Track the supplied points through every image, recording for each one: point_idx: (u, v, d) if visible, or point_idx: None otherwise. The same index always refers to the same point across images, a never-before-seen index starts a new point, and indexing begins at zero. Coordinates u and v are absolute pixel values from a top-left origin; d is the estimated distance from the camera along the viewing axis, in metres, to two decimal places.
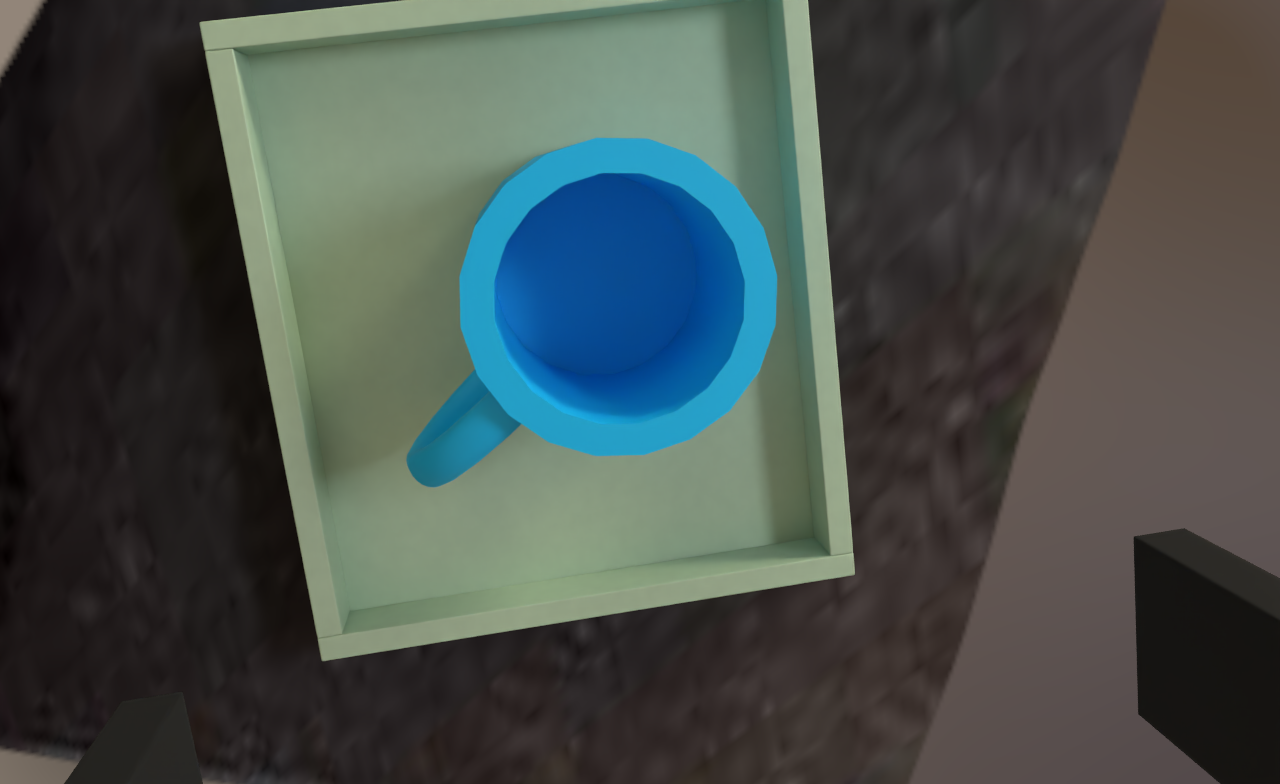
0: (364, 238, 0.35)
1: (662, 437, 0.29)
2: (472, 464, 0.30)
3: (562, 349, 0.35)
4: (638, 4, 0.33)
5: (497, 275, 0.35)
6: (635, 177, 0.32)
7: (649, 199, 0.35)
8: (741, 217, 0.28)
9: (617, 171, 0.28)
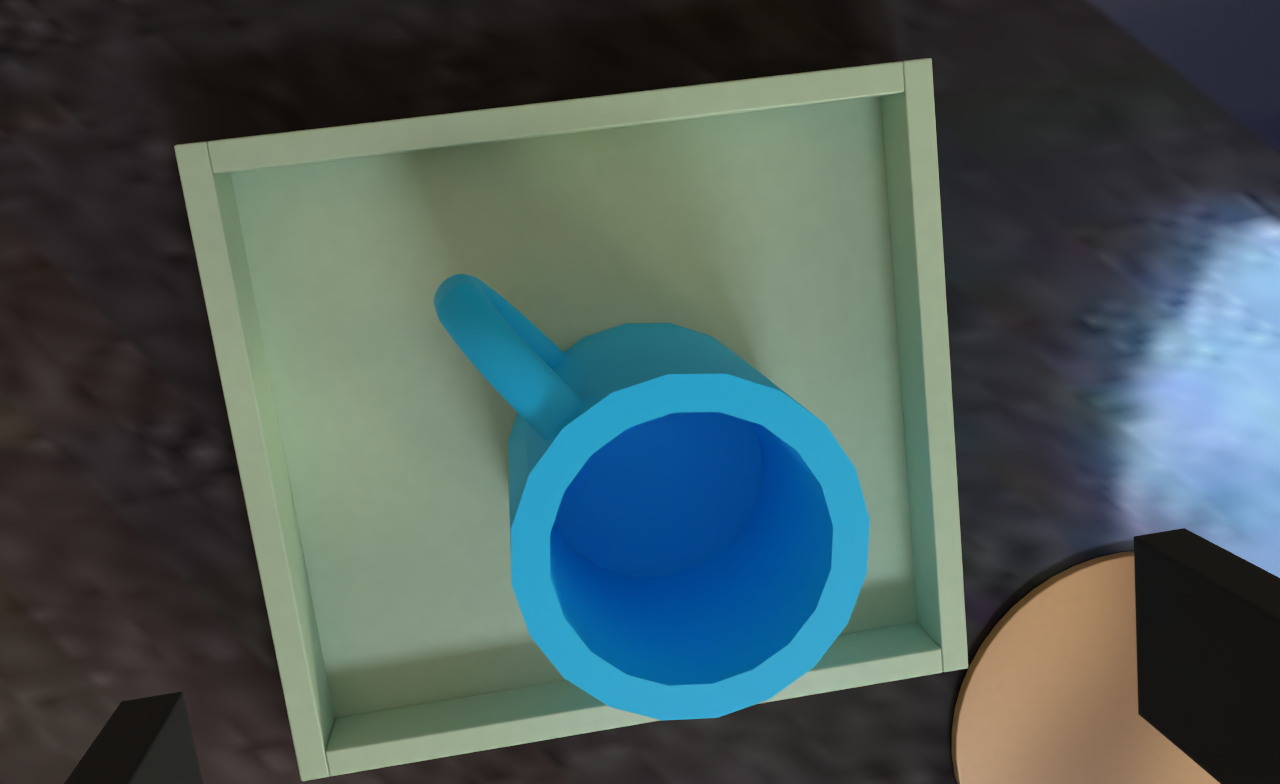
0: (687, 211, 0.32)
1: (532, 604, 0.25)
2: (484, 373, 0.25)
3: None
4: (931, 508, 0.32)
5: None
6: (784, 529, 0.29)
7: (733, 524, 0.32)
8: (781, 675, 0.26)
9: (834, 543, 0.25)
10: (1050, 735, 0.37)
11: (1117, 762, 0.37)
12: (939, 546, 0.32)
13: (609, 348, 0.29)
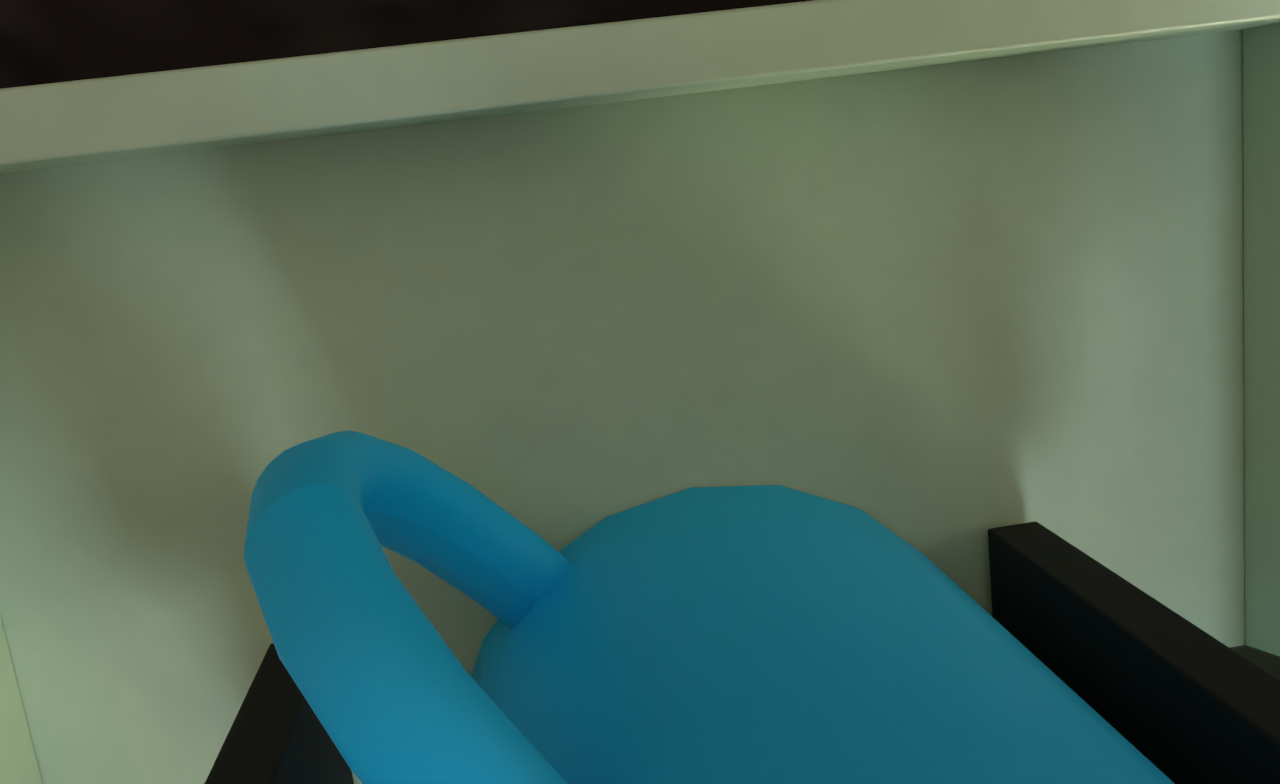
0: (852, 260, 0.16)
1: None
2: (347, 758, 0.09)
3: None
4: None
5: None
6: None
7: None
8: None
9: None
10: None
11: None
12: None
13: (668, 581, 0.13)
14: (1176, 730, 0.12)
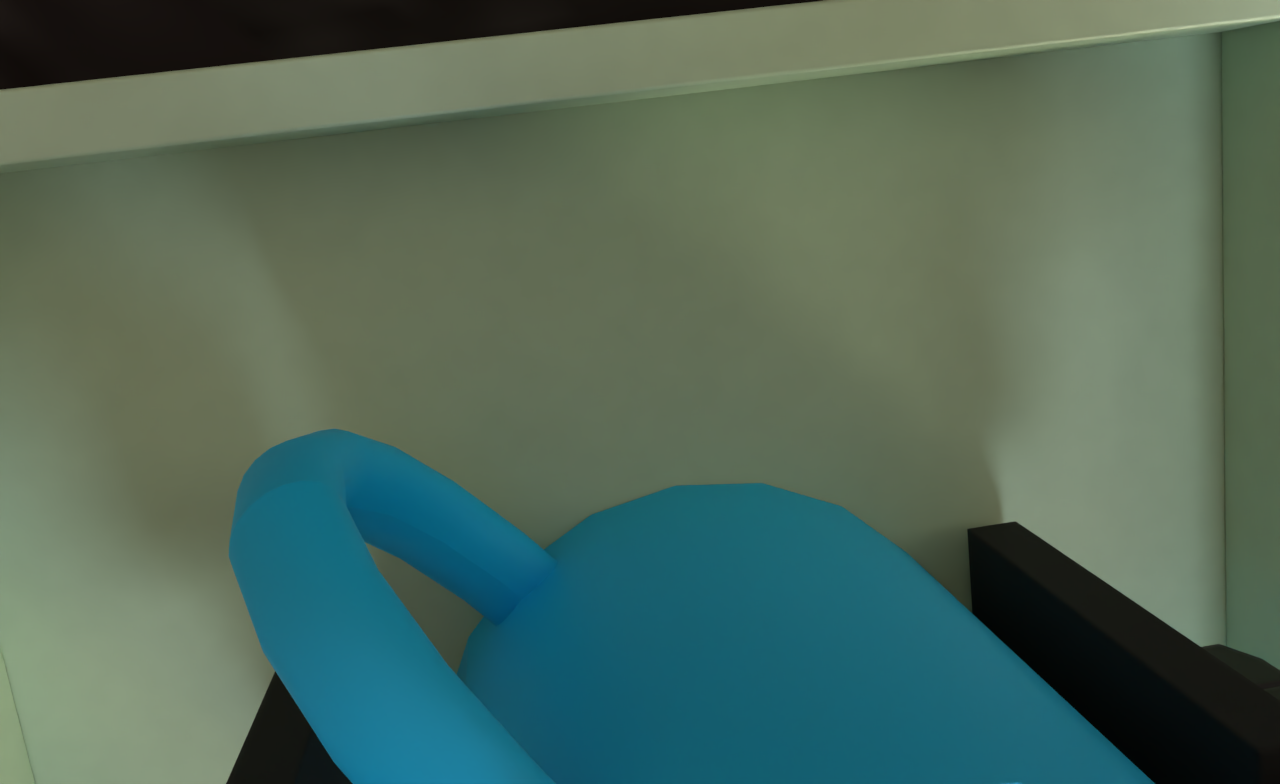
0: (836, 260, 0.16)
1: None
2: (329, 751, 0.09)
3: None
4: None
5: None
6: None
7: None
8: None
9: None
10: None
11: None
12: None
13: (650, 578, 0.13)
14: (1148, 730, 0.12)
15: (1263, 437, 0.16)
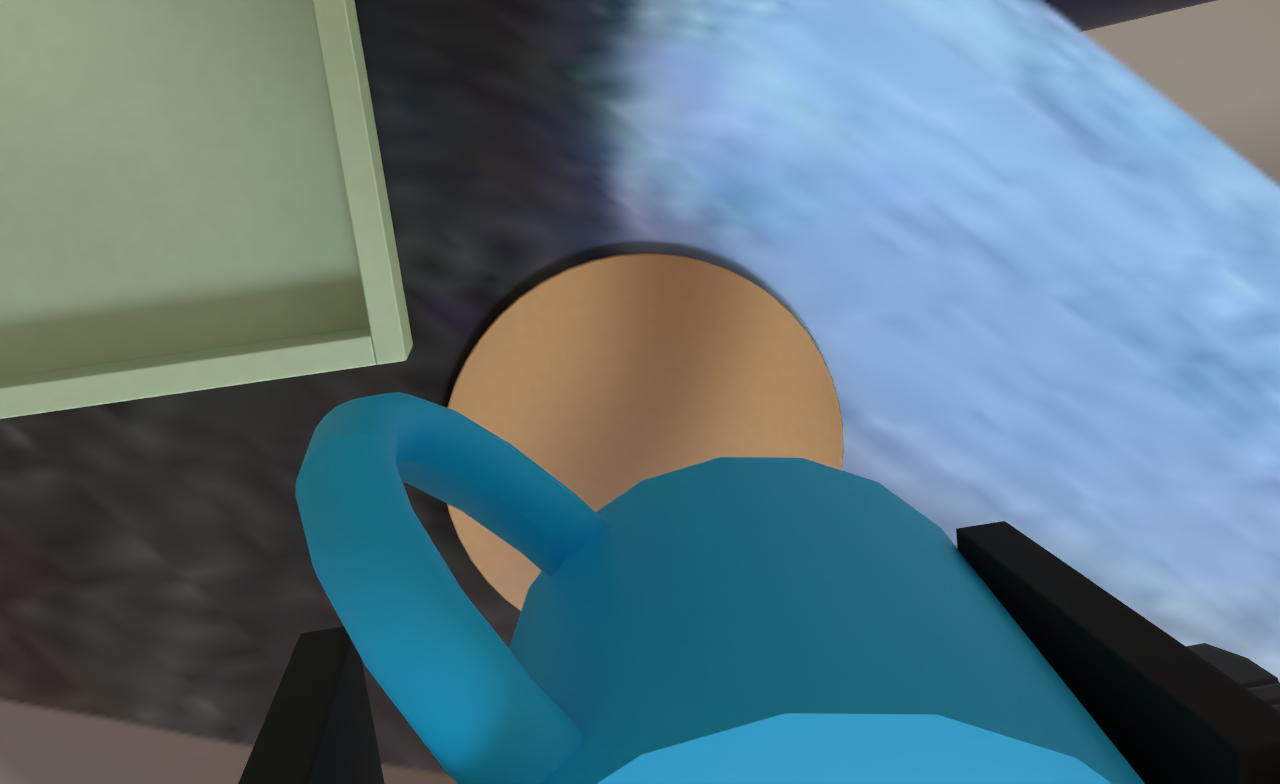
0: None
1: None
2: (362, 657, 0.11)
3: None
4: (342, 168, 0.28)
5: None
6: None
7: None
8: None
9: None
10: (552, 464, 0.33)
11: None
12: (355, 213, 0.29)
13: (676, 536, 0.15)
14: (1133, 729, 0.12)
15: None
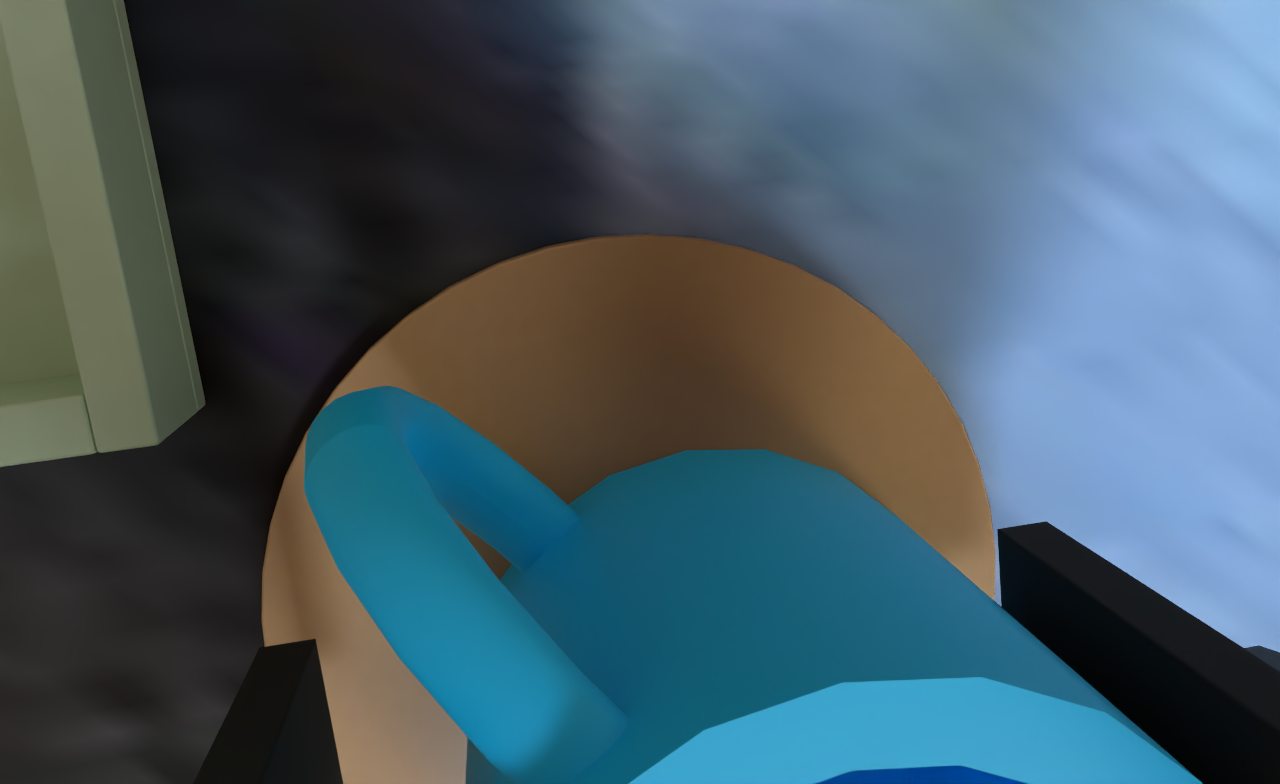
0: None
1: None
2: (397, 650, 0.11)
3: None
4: (8, 47, 0.14)
5: None
6: None
7: None
8: None
9: None
10: None
11: None
12: (39, 142, 0.14)
13: (666, 525, 0.15)
14: (1192, 732, 0.12)
15: None
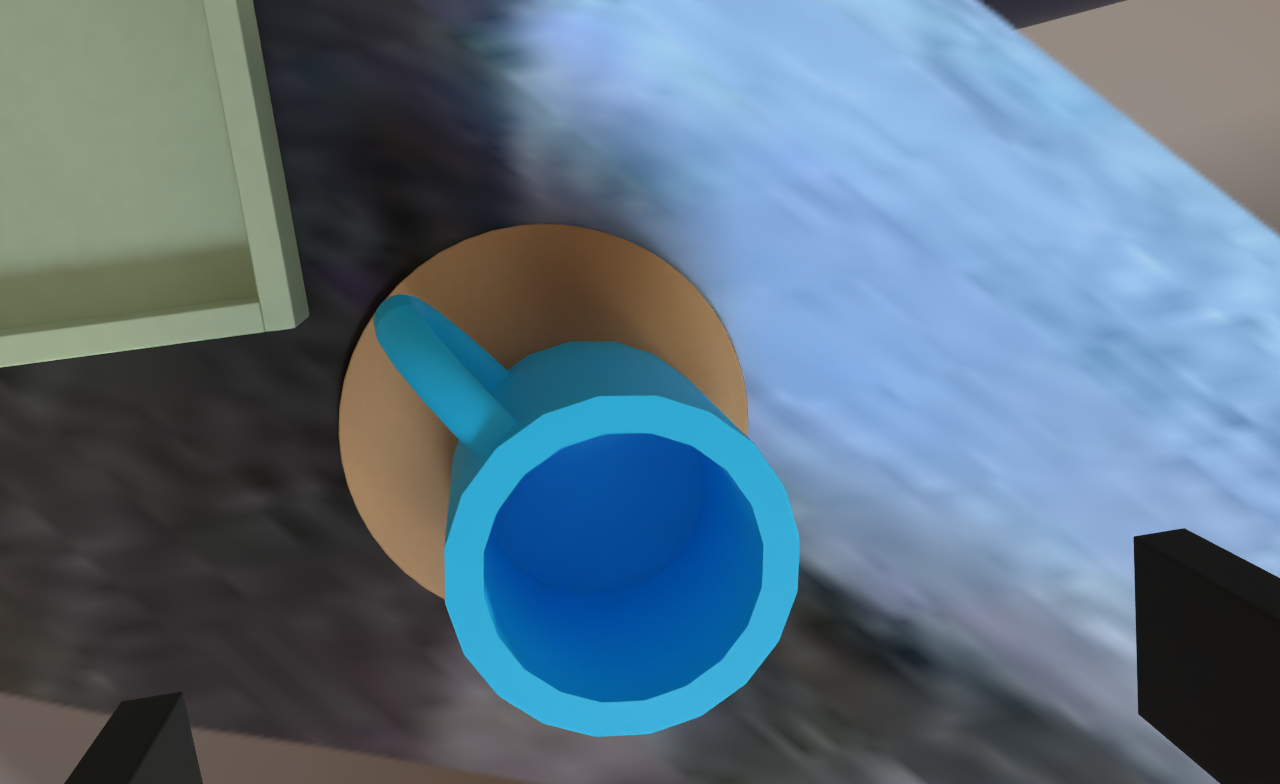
0: None
1: (466, 623, 0.25)
2: (420, 394, 0.25)
3: None
4: (228, 132, 0.28)
5: None
6: (722, 547, 0.30)
7: (675, 540, 0.33)
8: (713, 692, 0.26)
9: (765, 562, 0.26)
10: (452, 436, 0.32)
11: None
12: (241, 178, 0.28)
13: (549, 367, 0.29)
14: None
15: None
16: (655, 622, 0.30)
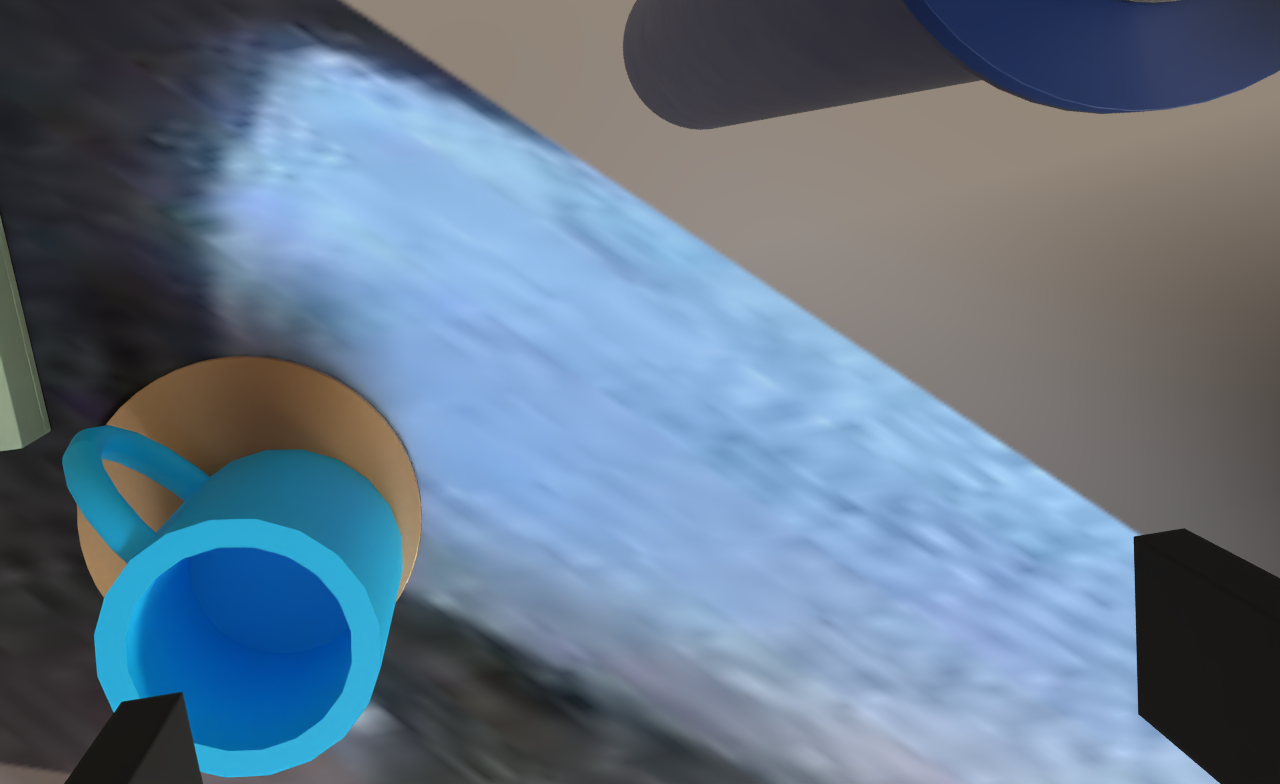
0: None
1: (115, 691, 0.33)
2: (83, 514, 0.33)
3: None
4: None
5: None
6: None
7: None
8: (318, 743, 0.34)
9: (352, 643, 0.33)
10: None
11: None
12: None
13: (224, 479, 0.37)
14: None
15: None
16: (311, 682, 0.37)
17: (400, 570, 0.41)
